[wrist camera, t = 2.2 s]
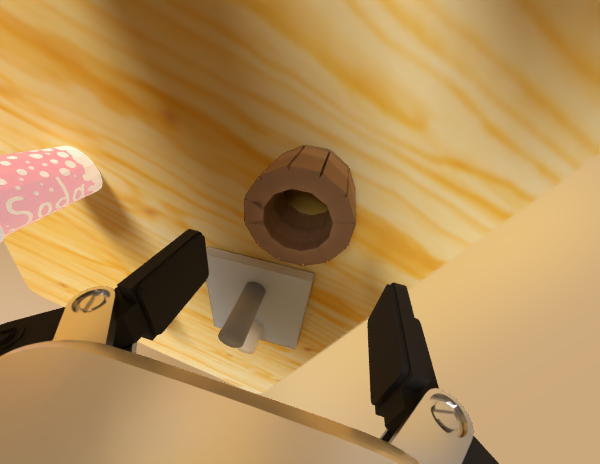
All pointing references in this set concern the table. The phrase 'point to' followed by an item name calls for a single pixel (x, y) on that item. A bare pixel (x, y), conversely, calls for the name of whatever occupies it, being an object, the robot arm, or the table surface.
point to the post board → (273, 303)
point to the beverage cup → (42, 184)
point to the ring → (296, 226)
